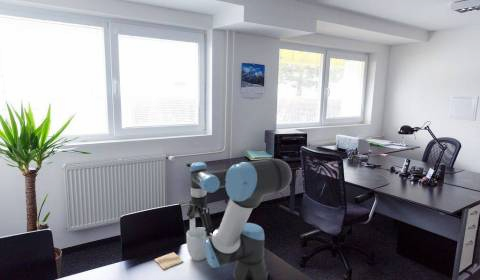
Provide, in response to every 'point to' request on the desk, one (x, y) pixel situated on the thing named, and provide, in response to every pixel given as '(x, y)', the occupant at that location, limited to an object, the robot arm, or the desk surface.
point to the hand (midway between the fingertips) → (199, 236)
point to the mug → (196, 243)
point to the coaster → (168, 260)
